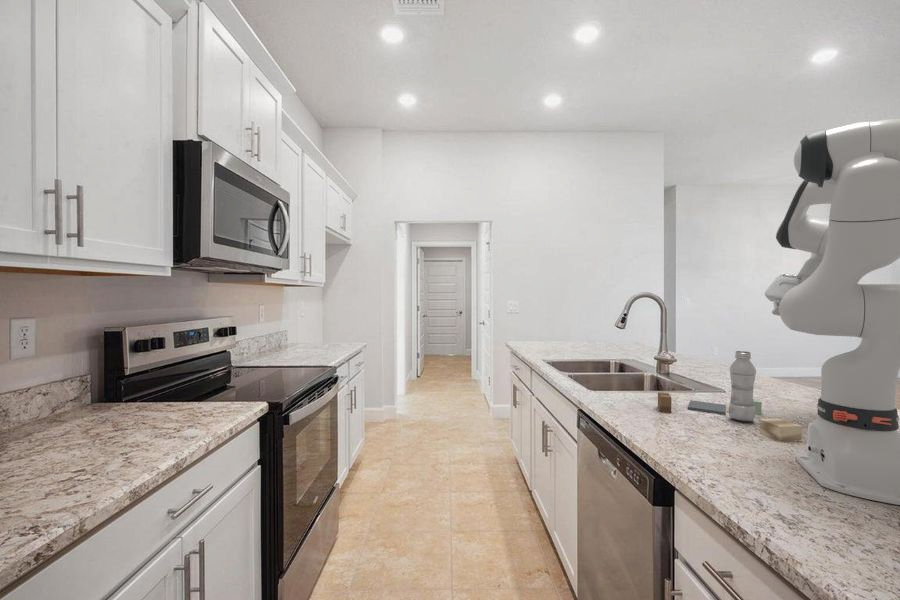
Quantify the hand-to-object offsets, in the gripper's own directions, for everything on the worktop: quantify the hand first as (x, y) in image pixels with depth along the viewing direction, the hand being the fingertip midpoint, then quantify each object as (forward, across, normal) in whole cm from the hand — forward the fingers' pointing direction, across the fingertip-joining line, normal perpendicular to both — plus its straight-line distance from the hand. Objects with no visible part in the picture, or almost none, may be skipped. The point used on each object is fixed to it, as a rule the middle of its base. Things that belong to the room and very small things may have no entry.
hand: (792, 317), depth 120 cm
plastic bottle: (+33, 0, +5) cm, 33 cm away
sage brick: (+28, -4, +15) cm, 31 cm away
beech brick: (+33, +13, 0) cm, 36 cm away
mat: (+34, -12, +7) cm, 36 cm away
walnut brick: (+42, -15, -5) cm, 45 cm away
